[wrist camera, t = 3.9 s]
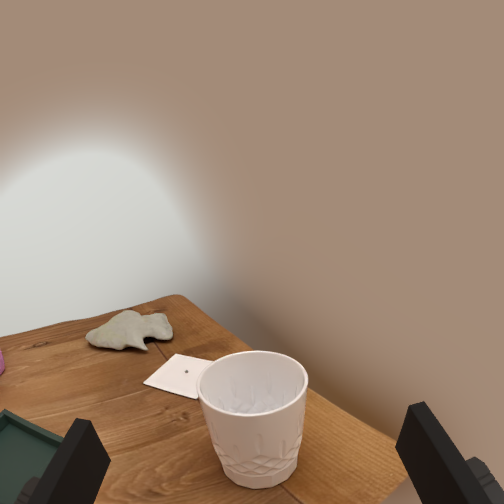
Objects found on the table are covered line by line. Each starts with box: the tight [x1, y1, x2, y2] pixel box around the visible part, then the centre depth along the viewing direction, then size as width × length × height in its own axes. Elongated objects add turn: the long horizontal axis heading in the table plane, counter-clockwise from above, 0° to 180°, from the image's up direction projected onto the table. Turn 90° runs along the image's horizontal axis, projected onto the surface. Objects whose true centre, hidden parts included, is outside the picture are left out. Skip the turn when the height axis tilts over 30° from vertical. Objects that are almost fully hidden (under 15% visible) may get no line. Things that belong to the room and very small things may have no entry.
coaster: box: [144, 354, 213, 399], centre depth 37 cm, size 8×8×1 cm
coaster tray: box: [0, 409, 64, 504], centre depth 17 cm, size 12×12×2 cm
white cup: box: [196, 351, 308, 489], centre depth 22 cm, size 8×8×10 cm
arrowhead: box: [85, 311, 173, 351], centre depth 47 cm, size 12×3×15 cm
